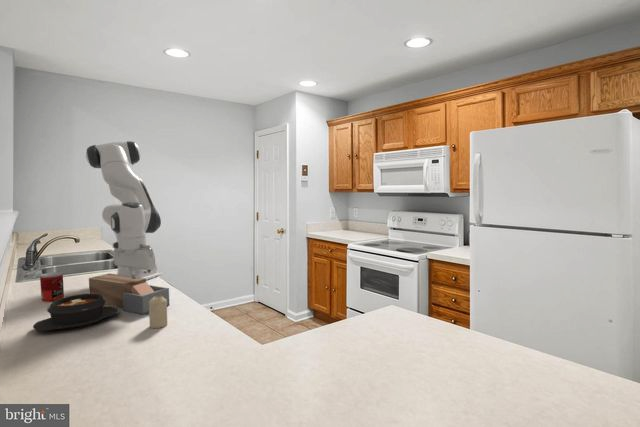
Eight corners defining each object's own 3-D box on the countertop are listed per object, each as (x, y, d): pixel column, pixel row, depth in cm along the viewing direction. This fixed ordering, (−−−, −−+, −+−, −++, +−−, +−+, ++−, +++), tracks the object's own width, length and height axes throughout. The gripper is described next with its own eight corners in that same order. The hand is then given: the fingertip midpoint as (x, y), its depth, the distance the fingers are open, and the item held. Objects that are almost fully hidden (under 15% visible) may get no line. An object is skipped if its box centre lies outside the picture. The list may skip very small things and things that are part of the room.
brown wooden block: (110, 296, 160) (109, 273, 159) (147, 302, 150) (146, 278, 149) (90, 301, 152) (88, 278, 151) (127, 309, 142) (125, 284, 141)
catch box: (150, 301, 151) (149, 285, 151) (169, 305, 147) (168, 288, 146) (123, 310, 141) (122, 292, 140) (143, 314, 136) (142, 296, 135)
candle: (146, 326, 124) (145, 297, 123) (160, 321, 129) (159, 293, 128) (157, 329, 121) (156, 300, 121) (171, 324, 126) (170, 295, 126)
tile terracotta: (143, 286, 148) (146, 282, 147) (152, 296, 146) (155, 292, 145) (130, 290, 142) (132, 285, 142) (139, 300, 140) (141, 296, 140)
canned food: (55, 302, 152) (54, 276, 151) (36, 302, 152) (34, 276, 151) (68, 296, 160) (67, 271, 159) (50, 296, 160) (48, 271, 159)
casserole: (41, 341, 113) (39, 314, 112) (27, 326, 125) (26, 302, 125) (126, 319, 132) (125, 296, 131) (107, 308, 144) (106, 287, 143)
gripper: (158, 244, 142) (160, 279, 143) (124, 241, 151) (125, 274, 152) (144, 246, 137) (146, 283, 138) (109, 243, 146) (111, 278, 147)
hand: (135, 278), depth 145 cm, fingers closed
